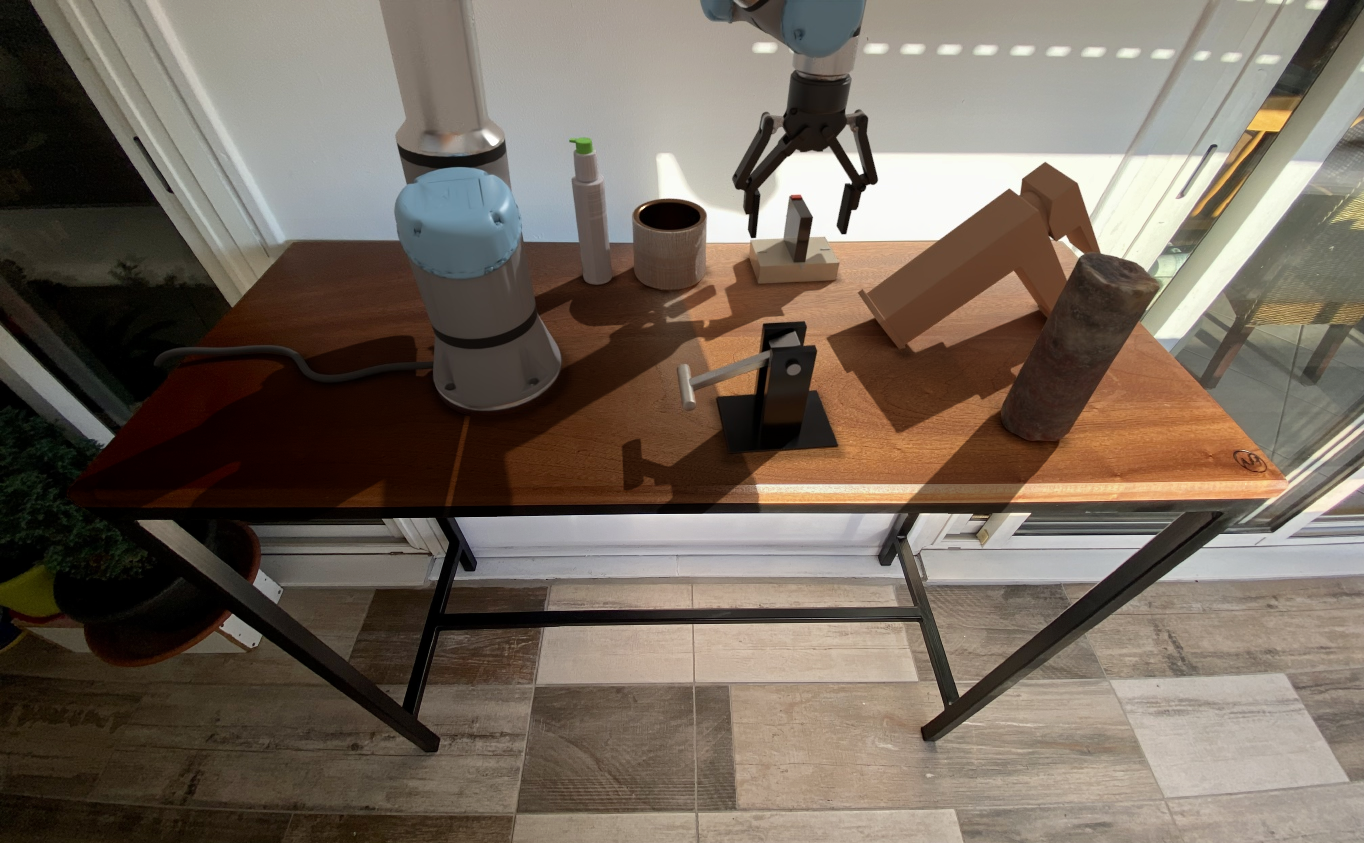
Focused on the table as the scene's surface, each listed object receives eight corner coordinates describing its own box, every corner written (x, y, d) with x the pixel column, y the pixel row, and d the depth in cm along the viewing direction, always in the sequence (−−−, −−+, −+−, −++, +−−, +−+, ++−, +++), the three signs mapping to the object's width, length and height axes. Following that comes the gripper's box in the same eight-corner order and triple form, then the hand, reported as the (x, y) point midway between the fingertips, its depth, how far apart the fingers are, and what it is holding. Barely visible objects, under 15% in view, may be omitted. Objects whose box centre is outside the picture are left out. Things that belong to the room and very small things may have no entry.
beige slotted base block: (760, 289, 88) (762, 270, 86) (746, 251, 96) (748, 233, 94) (838, 285, 89) (843, 267, 87) (819, 248, 97) (822, 230, 95)
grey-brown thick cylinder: (1002, 392, 73) (1081, 241, 59) (1068, 412, 70) (1166, 259, 56) (993, 432, 68) (1077, 278, 54) (1064, 454, 65) (1171, 299, 51)
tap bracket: (728, 460, 64) (737, 369, 55) (716, 403, 71) (722, 313, 62) (836, 452, 65) (862, 361, 56) (815, 397, 72) (835, 307, 63)
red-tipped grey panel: (805, 262, 88) (813, 215, 83) (793, 262, 88) (800, 216, 83) (794, 239, 93) (801, 193, 88) (783, 239, 93) (789, 194, 88)
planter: (717, 266, 93) (720, 207, 86) (685, 300, 86) (686, 239, 79) (656, 249, 97) (655, 191, 90) (621, 281, 90) (616, 221, 83)
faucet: (947, 410, 88) (1120, 303, 78) (879, 323, 73) (1080, 181, 64) (925, 379, 93) (1085, 275, 83) (857, 292, 78) (1040, 156, 69)
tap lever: (686, 416, 61) (678, 401, 60) (681, 378, 65) (673, 363, 64) (810, 373, 59) (805, 356, 57) (795, 337, 63) (790, 320, 61)
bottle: (597, 266, 93) (583, 131, 79) (618, 275, 91) (607, 139, 77) (577, 278, 90) (559, 141, 76) (598, 288, 88) (583, 149, 74)
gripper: (907, 61, 77) (869, 217, 92) (717, 65, 75) (710, 223, 90) (930, 78, 72) (886, 240, 87) (726, 83, 70) (717, 248, 85)
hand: (796, 232), depth 89 cm, fingers open, 13 cm apart
